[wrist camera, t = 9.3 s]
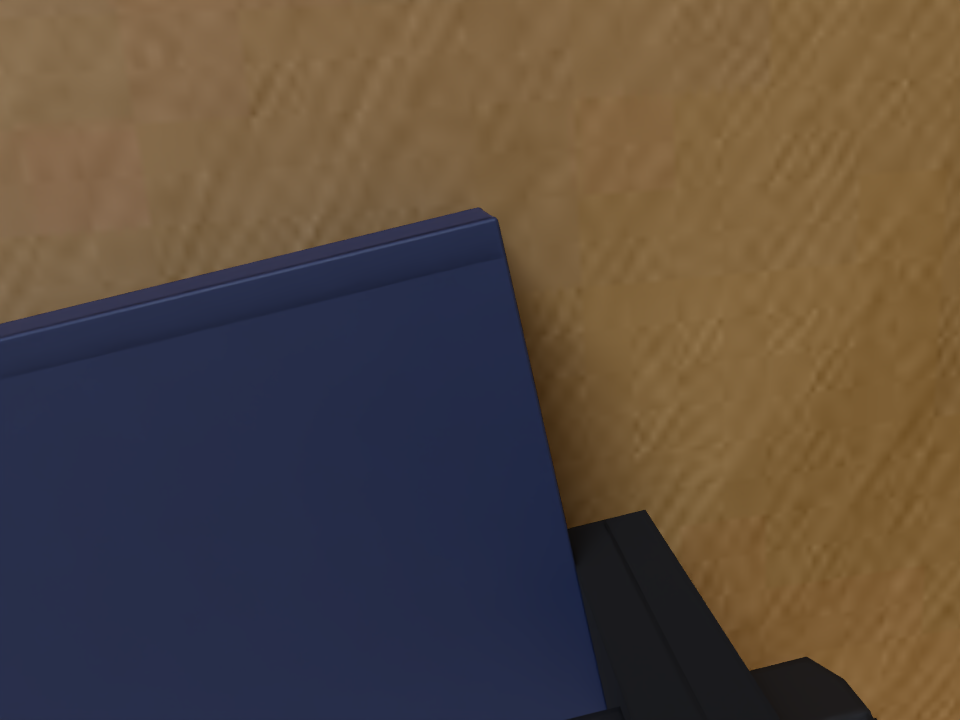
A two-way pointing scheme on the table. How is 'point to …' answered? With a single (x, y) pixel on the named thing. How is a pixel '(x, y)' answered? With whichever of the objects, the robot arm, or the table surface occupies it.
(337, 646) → the book
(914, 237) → the table surface
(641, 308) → the table surface
